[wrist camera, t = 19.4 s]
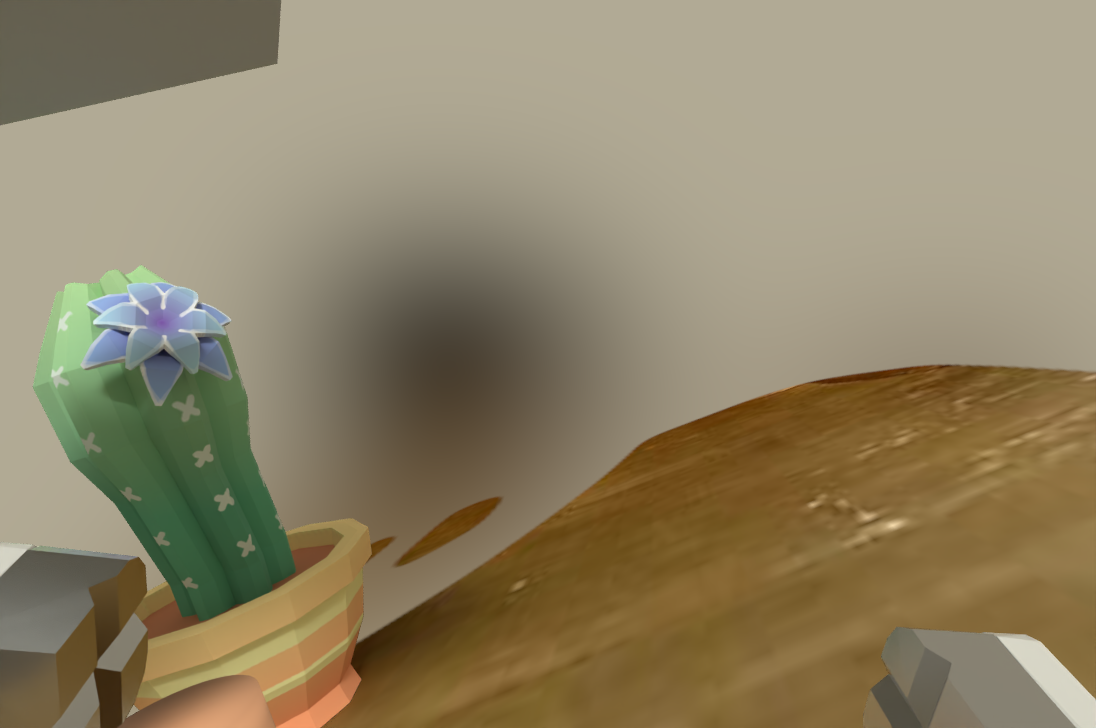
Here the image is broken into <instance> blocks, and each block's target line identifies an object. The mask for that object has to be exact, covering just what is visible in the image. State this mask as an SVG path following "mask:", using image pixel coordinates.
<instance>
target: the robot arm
mask: <svg viewBox="0 0 1096 728" xmlns="http://www.w3.org/2000/svg"><path fill="white" fill-rule="evenodd" d="M146 594H147V584H146V568H145V565H144V563H143V562H142V561H141V559H140V558H139V557H135V556H127V555H118V554H108V553H100V552H91V551H81V550H73V549H64V548H55V547H46V546H39V547H37V546H34V545H28V544H16V543H5V542H0V728H117V727H119V726H120V725H122V724H123V722H124V721H125V719H126V717H127V715H128V713H129V712H130V710H131V708H132V706H133V705H134V703H135V701H136V698H137V695H138V692H139V689H140V686H141V683H142V680H143V677H144V674H145V668H146V661H147V653H148V629H147V628H146V627H145V625H144V624H143V623H142V622H141V620H140V619H139V618H138V617H137V615H136V614H135V613H134V612H135V610H136V609H137V607H138V606H139V604H140V603H141V601H142V600H143V598H144V597H145V595H146ZM881 658H882V660H883V662H884V665H885V667H886V669H887V671H888V675H887V676H886V677H885V678H883V679H882V680H881V681H880V682H879V683H877V684H876V685H875V686H874V687H872V688H871V689H870V692H869V696H868V699H867V703H866V706H865V710H864V713H863V723H864V728H1096V700H1095V699H1094V698H1093V696H1092V695H1091V694H1090V693H1089V692H1088V691H1087V690H1086V689H1085V688H1084V687H1083V686H1082V685H1081V684H1080V683H1079V682H1078V681H1077V680H1076V679H1075V678H1074V677H1073V676H1072V674H1071V673H1070V672H1069V671H1068V670H1067V669H1066V668H1065V667H1064V666H1063V665H1062V664H1061V663H1060V662H1059V661H1058V660H1057V659H1056V658H1055V657H1054V656H1053V655H1052V653H1051V652H1050V651H1049V650H1048V649H1047V648H1046V647H1045V646H1044V645H1043V644H1042V643H1041V642H1040V641H1038V640H1036V639H1034V638H1032V637H1029V636H1027V635H1022V634H1004V633H986V632H983V633H972V632H959V631H945V630H932V629H919V628H905V627H896V628H895V630H894V631H893V632H892V633H891V634H890V636H889V637H888V638H887V641H886V644H885V647H884V650H883V652H882V655H881Z"/></svg>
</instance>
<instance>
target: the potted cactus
mask: <svg viewBox="0 0 1096 728" xmlns="http://www.w3.org/2000/svg"><path fill="white" fill-rule="evenodd" d="M99 281H100V283H93V284H81V283H70V284H68V285H66V286H65V290H64V292H57V294H56V297H55V301H54V304H53V308H52V312H51V315H50V319H49V322H48V326H47V329H46V333H45V336H44V340H43V344H42V347H41V351H40V355H39V360H38V365H37V370H36V375H35V380H34V385H33V389H34V391H35V393H36V395H37V397H38V398H39V401H40V402H41V404H42V406H43V408H44V410H45V412H46V414H47V416H48V418H49V420H50V422H51V424H52V426H53V428H54V430H55V432H56V434H57V436H58V438H59V440H60V442H61V444H62V446H63V448H64V450H65V452H66V454H67V456H68V458H69V460H70V462H71V463H72V464H73V465H74V466H75V467H76V468H77V469H78V470H79V471H80V472H82V473H83V474H84V475H85V476H86V477H87V478H88V479H89V480H90V481H91V482H92V483H93V484H94V485H96V487H98V488H99V489H100V490H101V491H102V492H103V493H104V494H105V495H106V496H107V497H108V498H109V499H110V500H111V501H113V502H114V503H115V505H116V506H117V508H118V509H119V511H120V512H121V514H122V515H123V517H124V518H125V519H126V521H127V523H128V524H129V526H130V527H131V529H132V530H133V531H134V533H135V535H136V536H137V537H138V539H139V540H140V542H141V543H142V545H143V546H144V548H145V550H146V551H147V553H148V554H149V556H150V557H151V558H152V560H153V562H154V563H155V564H156V566H157V568H158V569H159V571H160V572H161V573H162V575H163V576H164V578H165V579H166V582H164V583H162V584H161V585H159V586H157V587H155V588H153V589H151V590H149V591H147V594H146V595H145V597H144V598H143V600H142V601H141V603H140V604H139V606H138V607H137V609H136V610H135V612H134V613H135V614H136V615H137V617H138V618H139V619H140V620H141V622H142V623H143V624H144V625H145V627H146V628H147V629H148V653H147V661H146V668H145V674H144V677H143V680H142V683H141V686H140V689H139V692H138V695H137V698H136V701H135V703H134V705H135V706H136V707H137V708H138V709H139V710H141V709H143V708H145V707H147V706H149V705H151V704H153V703H155V702H157V701H159V700H161V699H163V698H165V697H167V696H169V695H171V694H173V693H176V692H178V691H180V690H183V689H185V688H188V687H190V686H193V685H196V684H199V683H202V682H205V681H208V680H212V679H215V678H219V677H224V676H231V675H249V676H251V677H254V678H255V679H257V681H258V683H259V685H260V688H261V690H262V693H263V695H264V698H265V700H266V703H267V705H268V708H269V710H270V713H271V715H272V718H273V720H274V723H275V726H276V728H321V727H322V726H323V725H324V724H325V723H326V722H328V721H329V720H330V719H331V718H332V717H333V716H335V715H336V714H337V713H338V712H339V711H340V710H342V709H343V708H344V707H345V706H346V705H347V704H348V703H350V701H351V699H352V697H353V695H354V693H355V691H356V689H357V687H358V685H359V683H360V681H361V678H360V677H359V675H358V674H357V672H356V671H355V670H354V668H353V667H352V665H351V660H352V656H353V653H354V649H355V645H356V642H357V638H358V634H359V630H360V627H361V623H362V619H363V566H364V565H365V563H366V562H367V560H368V559H369V557H370V556H371V554H372V552H371V544H370V537H369V529H368V527H367V526H365V525H363V524H361V523H359V522H357V521H356V520H354V519H352V518H350V519H344V520H337V521H329V522H323V523H316V524H310V525H306V526H302V527H300V528H296V529H293V530H290V531H287V532H285V530H284V528H283V525H282V523H281V521H280V518H279V516H278V513H277V511H276V508H275V506H274V504H273V501H272V499H271V497H270V494H269V492H268V489H267V487H266V484H265V482H264V480H263V477H262V475H261V472H260V470H259V468H258V465H257V463H256V460H255V458H254V456H253V453H252V451H251V448H250V432H249V415H248V399H247V395H246V392H245V388H244V386H243V382H242V379H241V376H240V373H239V370H238V367H237V364H236V361H235V357H234V354H233V351H232V348H231V345H230V342H229V338H228V335H227V332H226V329H225V327H224V326H226V325H228V324H229V323H230V322H231V319H230V318H229V317H228V316H227V315H225V314H224V313H222V312H221V311H219V310H218V309H216V308H215V307H213V306H210V305H207V304H205V303H202V302H198V295H197V293H196V292H194V291H193V290H191V289H187V288H184V287H181V286H180V287H176V286H174V285H171V284H170V283H168V282H167V281H165V280H164V279H162V278H160V277H159V276H157V275H156V274H154V273H153V272H151V271H150V270H148V269H147V268H145V267H144V266H141V265H140V266H139V267H138V268H137V269H136V270H135V271H133V272H132V273H130V274H126V275H124V274H123V273H122V272H120V271H119V270H117V269H116V270H111V271H108V272H107V273H106V274H105V275H104V276H103V277H102V278H101V279H100V280H99Z"/></svg>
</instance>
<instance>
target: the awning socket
mask: <svg viewBox="0 0 1096 728" xmlns="http://www.w3.org/2000/svg"><path fill="white" fill-rule="evenodd" d="M280 8H281V0H0V125H3V124H8V123H13V122H17V121H22V120H26V119H31V118H35V117H40V116H44V115H49V114H53V113H57V112H62V111H67V110H71V109H76V108H80V107H85V106H89V105H93V104H98V103H103V102H107V101H111V100H116V99H121V98H125V97H130V96H134V95H139V94H143V93H147V92H152V91H156V90H161V89H165V88H170V87H174V86H179V85H183V84H188V83H192V82H196V81H201V80H205V79H210V78H215V77H219V76H224V75H228V74H233V73H237V72H242V71H246V70H251V69H255V68H259V67H264V66H269V65H273V64H277V59H278V42H279V26H280V25H279V24H280V10H281V9H280Z"/></svg>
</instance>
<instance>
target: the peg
mask: <svg viewBox="0 0 1096 728" xmlns="http://www.w3.org/2000/svg"><path fill="white" fill-rule="evenodd" d="M117 728H276V726H275V723H274V720H273V718H272V715H271V713H270V710H269V708H268V705H267V703H266V700H265V698H264V695H263V693H262V690H261V688H260V685H259V683H258V681H257V679H255V678H254V677H251V676H249V675H231V676H224V677H219V678H215V679H212V680H208V681H205V682H202V683H199V684H196V685H193V686H190V687H188V688H185V689H183V690H180V691H178V692H176V693H173V694H171V695H169V696H167V697H165V698H163V699H161V700H159V701H157V702H155V703H153V704H151V705H149V706H147V707H145V708H143V709H141V710H140V711H138V712H136V713H135V714H133V715H131V716H129V717H128V718H126V719H125V721H124V722H123V724H122V725H120V726H119V727H117Z"/></svg>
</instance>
